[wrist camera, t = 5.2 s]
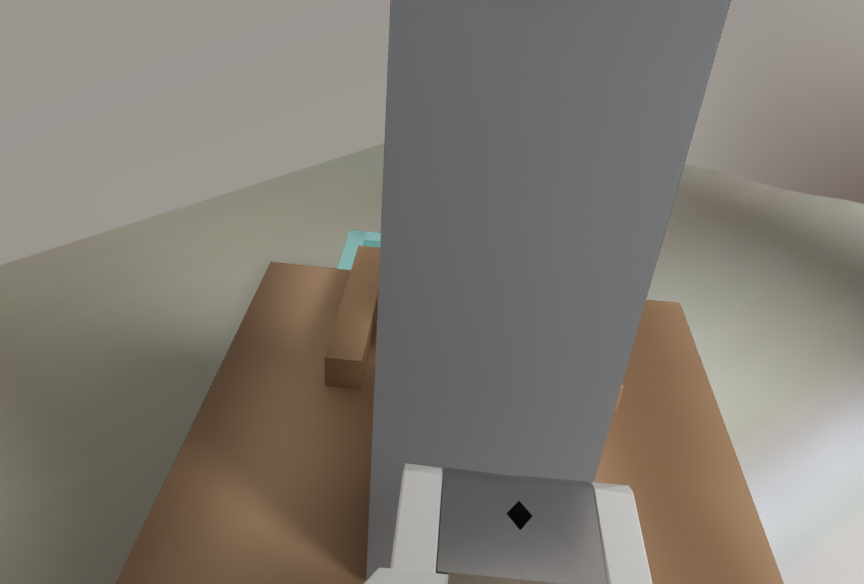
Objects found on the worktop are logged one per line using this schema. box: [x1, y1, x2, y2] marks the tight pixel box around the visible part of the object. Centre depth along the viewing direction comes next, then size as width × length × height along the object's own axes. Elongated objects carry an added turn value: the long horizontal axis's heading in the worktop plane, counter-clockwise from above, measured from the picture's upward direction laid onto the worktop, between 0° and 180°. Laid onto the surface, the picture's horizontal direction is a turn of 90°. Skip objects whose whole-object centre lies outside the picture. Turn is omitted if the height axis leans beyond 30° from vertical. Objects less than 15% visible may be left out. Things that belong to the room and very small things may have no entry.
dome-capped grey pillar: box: [366, 0, 731, 580], centre depth 13 cm, size 4×4×13 cm
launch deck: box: [116, 245, 784, 584], centre depth 22 cm, size 14×14×11 cm
